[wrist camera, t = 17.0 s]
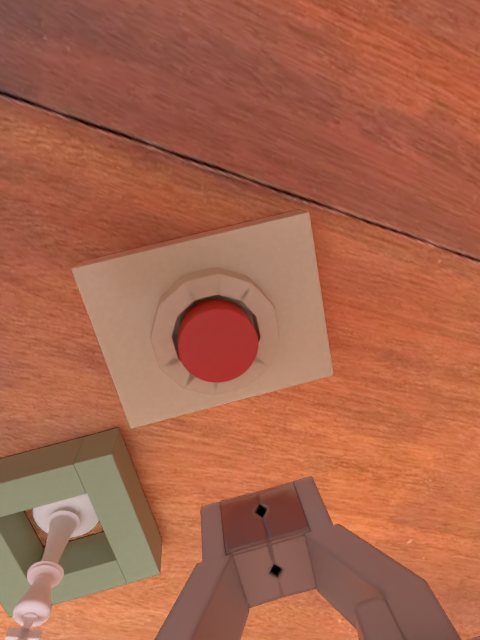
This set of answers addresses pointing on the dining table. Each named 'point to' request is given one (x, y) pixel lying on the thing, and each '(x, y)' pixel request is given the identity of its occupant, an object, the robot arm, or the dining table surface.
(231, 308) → the button
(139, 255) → the panel
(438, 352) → the dining table surface
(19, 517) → the dock
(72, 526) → the chess piece
